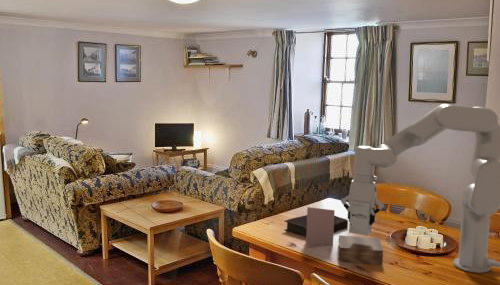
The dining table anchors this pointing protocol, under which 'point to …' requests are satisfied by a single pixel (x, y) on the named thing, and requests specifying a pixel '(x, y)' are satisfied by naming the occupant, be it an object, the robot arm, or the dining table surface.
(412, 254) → the dining table surface
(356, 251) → the walnut box
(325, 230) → the greeting card
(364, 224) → the supplement box
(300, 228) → the diary
